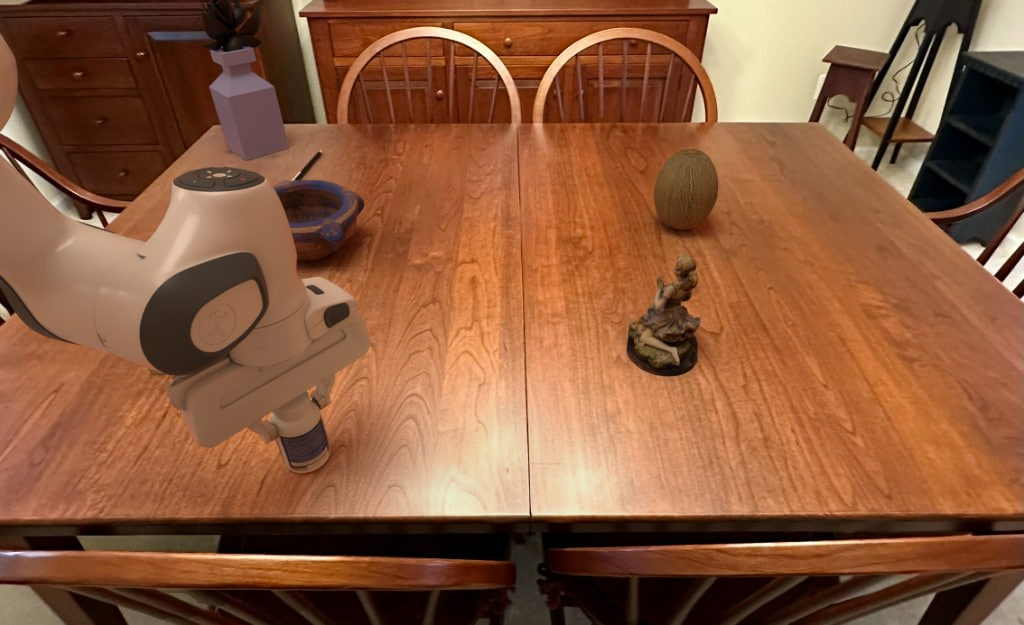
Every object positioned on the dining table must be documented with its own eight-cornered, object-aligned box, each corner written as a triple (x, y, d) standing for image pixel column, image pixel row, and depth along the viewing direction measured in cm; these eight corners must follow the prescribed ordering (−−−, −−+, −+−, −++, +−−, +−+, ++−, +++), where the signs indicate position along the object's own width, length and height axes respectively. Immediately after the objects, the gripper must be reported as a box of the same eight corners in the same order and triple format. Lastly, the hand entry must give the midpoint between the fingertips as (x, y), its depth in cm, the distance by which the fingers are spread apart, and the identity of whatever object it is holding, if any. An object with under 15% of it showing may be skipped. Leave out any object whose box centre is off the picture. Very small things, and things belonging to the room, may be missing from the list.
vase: (278, 132, 153) (240, -24, 132) (300, 144, 147) (263, -18, 125) (223, 147, 146) (172, -16, 124) (243, 161, 139) (193, -8, 118)
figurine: (649, 313, 93) (663, 228, 84) (714, 342, 88) (738, 255, 79) (607, 352, 86) (618, 264, 77) (676, 386, 81) (697, 296, 72)
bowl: (339, 281, 101) (328, 229, 94) (241, 270, 103) (224, 218, 97) (379, 228, 114) (371, 179, 108) (292, 219, 117) (280, 171, 111)
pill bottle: (340, 450, 72) (325, 392, 66) (306, 482, 69) (287, 423, 63) (309, 432, 75) (291, 374, 69) (274, 461, 71) (252, 403, 65)
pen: (288, 188, 128) (287, 183, 127) (320, 152, 143) (319, 147, 142) (292, 188, 128) (291, 183, 127) (324, 152, 143) (323, 147, 142)
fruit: (718, 222, 116) (736, 147, 107) (695, 247, 109) (712, 169, 100) (663, 205, 121) (675, 133, 112) (638, 228, 114) (649, 153, 105)
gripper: (175, 396, 52) (222, 494, 60) (368, 292, 64) (385, 387, 72) (144, 363, 55) (193, 460, 63) (333, 270, 67) (353, 363, 75)
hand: (297, 420), depth 68 cm, fingers closed on pill bottle, 5 cm apart
